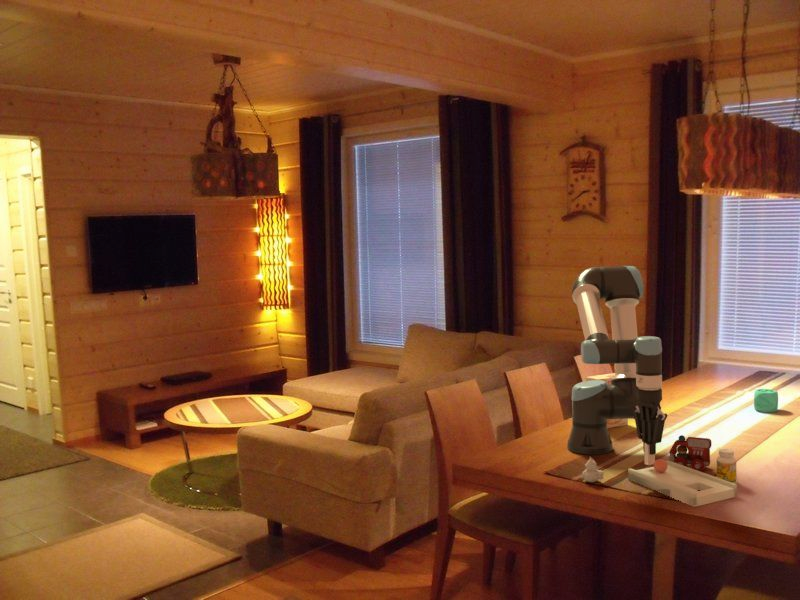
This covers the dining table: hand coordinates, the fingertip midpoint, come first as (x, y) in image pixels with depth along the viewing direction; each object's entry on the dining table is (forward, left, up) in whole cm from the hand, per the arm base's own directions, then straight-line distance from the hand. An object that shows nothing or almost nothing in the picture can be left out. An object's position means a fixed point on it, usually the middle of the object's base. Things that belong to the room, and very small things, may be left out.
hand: (649, 463), depth 233 cm
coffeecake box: (-54, +28, -4) cm, 61 cm away
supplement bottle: (+15, +15, -4) cm, 22 cm away
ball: (+4, 0, 0) cm, 4 cm away
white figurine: (-5, -18, -4) cm, 19 cm away
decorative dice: (-39, +96, -4) cm, 104 cm away
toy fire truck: (0, +16, -4) cm, 17 cm away
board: (+12, 0, -4) cm, 13 cm away
